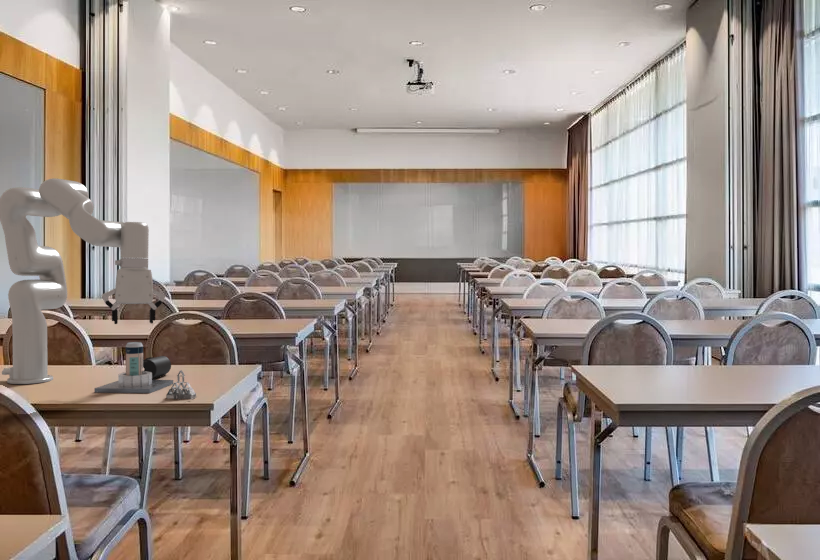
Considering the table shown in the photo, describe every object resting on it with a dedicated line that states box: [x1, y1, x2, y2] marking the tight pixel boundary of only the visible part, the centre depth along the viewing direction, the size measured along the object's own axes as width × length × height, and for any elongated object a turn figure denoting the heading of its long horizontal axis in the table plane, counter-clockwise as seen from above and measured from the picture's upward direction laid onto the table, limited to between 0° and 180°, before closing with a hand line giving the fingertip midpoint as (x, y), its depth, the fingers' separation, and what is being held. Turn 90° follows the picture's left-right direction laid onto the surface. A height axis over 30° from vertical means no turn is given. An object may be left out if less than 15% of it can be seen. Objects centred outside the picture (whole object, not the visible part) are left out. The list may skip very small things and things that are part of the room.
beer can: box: [125, 341, 144, 375], centre depth 204 cm, size 5×5×12 cm
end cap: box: [143, 355, 172, 380], centre depth 222 cm, size 10×7×7 cm
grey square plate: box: [93, 370, 174, 394], centre depth 204 cm, size 16×16×4 cm
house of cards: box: [165, 369, 197, 404], centre depth 187 cm, size 9×9×8 cm
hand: (133, 323), depth 204 cm, fingers open, 9 cm apart
